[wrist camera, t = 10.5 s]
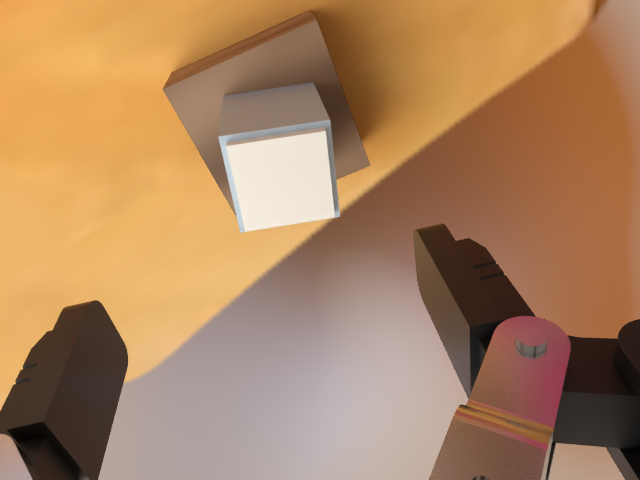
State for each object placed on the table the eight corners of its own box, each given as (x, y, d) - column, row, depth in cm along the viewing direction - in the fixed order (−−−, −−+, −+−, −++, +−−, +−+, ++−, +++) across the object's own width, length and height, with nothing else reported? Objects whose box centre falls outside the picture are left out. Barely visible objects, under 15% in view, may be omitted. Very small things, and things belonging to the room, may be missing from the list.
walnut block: (172, 71, 30) (162, 89, 27) (308, 9, 29) (316, 19, 26) (239, 192, 35) (238, 220, 31) (358, 142, 34) (370, 165, 31)
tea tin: (223, 95, 27) (217, 140, 21) (313, 82, 27) (331, 123, 22) (241, 177, 30) (240, 238, 24) (322, 165, 30) (341, 221, 24)
